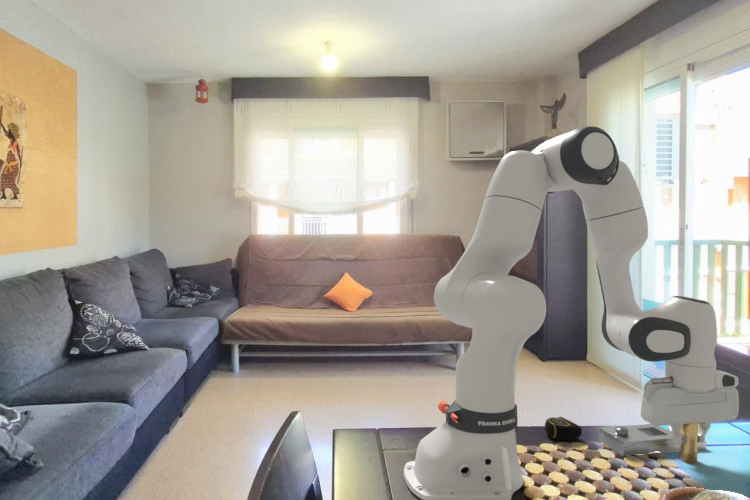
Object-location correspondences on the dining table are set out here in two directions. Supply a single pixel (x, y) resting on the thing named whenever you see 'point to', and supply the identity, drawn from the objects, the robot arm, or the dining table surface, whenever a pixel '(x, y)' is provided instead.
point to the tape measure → (562, 428)
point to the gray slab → (640, 439)
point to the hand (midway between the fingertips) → (688, 442)
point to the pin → (689, 443)
